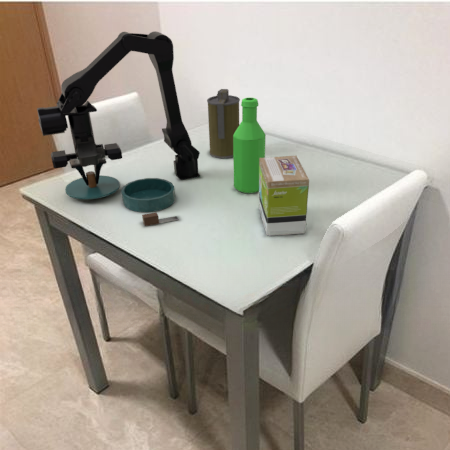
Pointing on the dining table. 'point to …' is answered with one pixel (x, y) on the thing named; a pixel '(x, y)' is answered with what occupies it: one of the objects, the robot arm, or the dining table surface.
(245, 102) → the bottle
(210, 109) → the canister
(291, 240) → the dining table surface
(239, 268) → the dining table surface
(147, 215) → the knife
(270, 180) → the tea box
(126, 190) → the pot
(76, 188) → the lid
